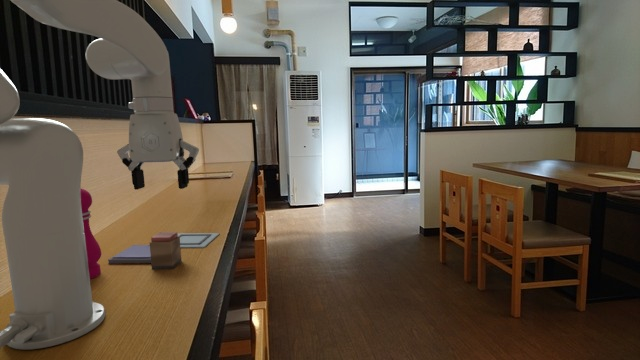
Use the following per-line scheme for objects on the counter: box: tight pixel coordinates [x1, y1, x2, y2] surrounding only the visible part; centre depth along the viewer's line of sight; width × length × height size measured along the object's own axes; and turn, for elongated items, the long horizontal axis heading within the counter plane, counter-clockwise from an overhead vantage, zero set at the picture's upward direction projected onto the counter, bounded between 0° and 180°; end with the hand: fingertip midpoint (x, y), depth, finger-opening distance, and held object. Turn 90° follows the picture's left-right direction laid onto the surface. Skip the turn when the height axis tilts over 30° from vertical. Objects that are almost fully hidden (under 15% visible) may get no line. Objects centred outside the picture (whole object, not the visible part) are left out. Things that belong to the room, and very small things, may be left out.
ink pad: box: [107, 244, 151, 265], centre depth 90 cm, size 10×10×1 cm
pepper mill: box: [81, 188, 102, 280], centre depth 77 cm, size 7×7×20 cm
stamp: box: [149, 231, 182, 270], centre depth 83 cm, size 5×5×7 cm
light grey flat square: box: [177, 232, 220, 249], centre depth 101 cm, size 12×12×1 cm
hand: (161, 188), depth 81 cm, fingers open, 9 cm apart
